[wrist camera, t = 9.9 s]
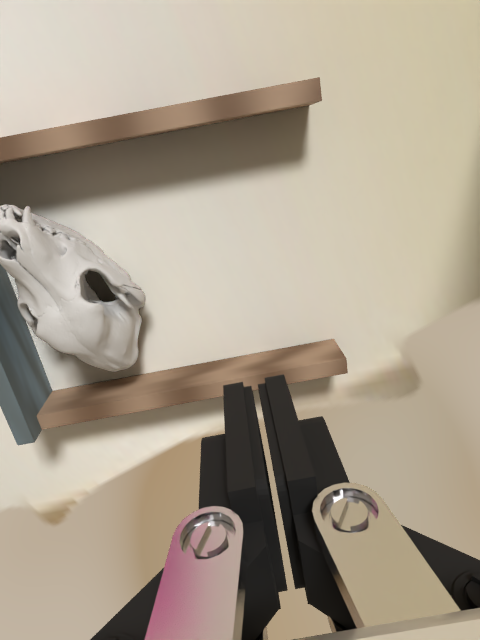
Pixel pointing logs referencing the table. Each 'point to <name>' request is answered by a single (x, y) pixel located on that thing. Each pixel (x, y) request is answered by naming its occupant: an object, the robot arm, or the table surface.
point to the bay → (163, 386)
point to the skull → (70, 290)
